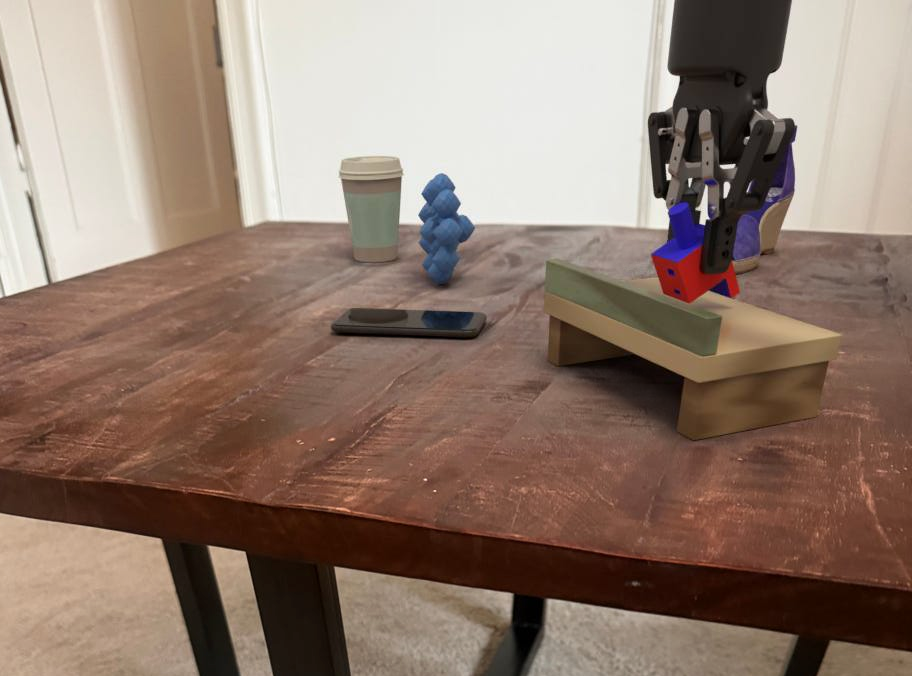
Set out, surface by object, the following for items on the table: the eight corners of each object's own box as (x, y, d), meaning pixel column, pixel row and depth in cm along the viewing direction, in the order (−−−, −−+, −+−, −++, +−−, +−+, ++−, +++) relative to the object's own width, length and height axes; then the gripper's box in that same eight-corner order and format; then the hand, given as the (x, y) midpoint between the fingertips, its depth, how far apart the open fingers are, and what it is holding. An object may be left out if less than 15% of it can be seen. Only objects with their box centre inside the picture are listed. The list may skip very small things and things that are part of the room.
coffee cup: (375, 250, 124) (370, 154, 117) (419, 256, 119) (416, 157, 113) (331, 260, 119) (323, 160, 112) (376, 267, 114) (370, 163, 107)
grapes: (488, 291, 101) (489, 175, 94) (431, 296, 100) (429, 178, 93) (463, 271, 110) (462, 164, 104) (411, 275, 109) (407, 167, 103)
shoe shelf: (654, 343, 82) (665, 246, 77) (823, 416, 65) (851, 297, 60) (541, 360, 78) (545, 259, 73) (689, 442, 61) (707, 317, 56)
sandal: (668, 269, 109) (685, 130, 100) (752, 246, 120) (774, 119, 111) (726, 278, 104) (749, 133, 95) (808, 253, 115) (835, 121, 106)
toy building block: (669, 313, 70) (639, 220, 65) (712, 282, 70) (685, 187, 65) (695, 323, 67) (666, 227, 62) (740, 292, 67) (714, 193, 62)
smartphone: (488, 320, 90) (349, 315, 93) (488, 311, 90) (348, 306, 92) (476, 339, 84) (328, 333, 87) (476, 330, 84) (327, 325, 86)
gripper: (859, -20, 53) (799, 280, 62) (713, -5, 64) (681, 248, 73) (759, -19, 51) (713, 292, 60) (625, -5, 61) (604, 257, 71)
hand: (696, 266), depth 67 cm, fingers closed on toy building block, 3 cm apart
